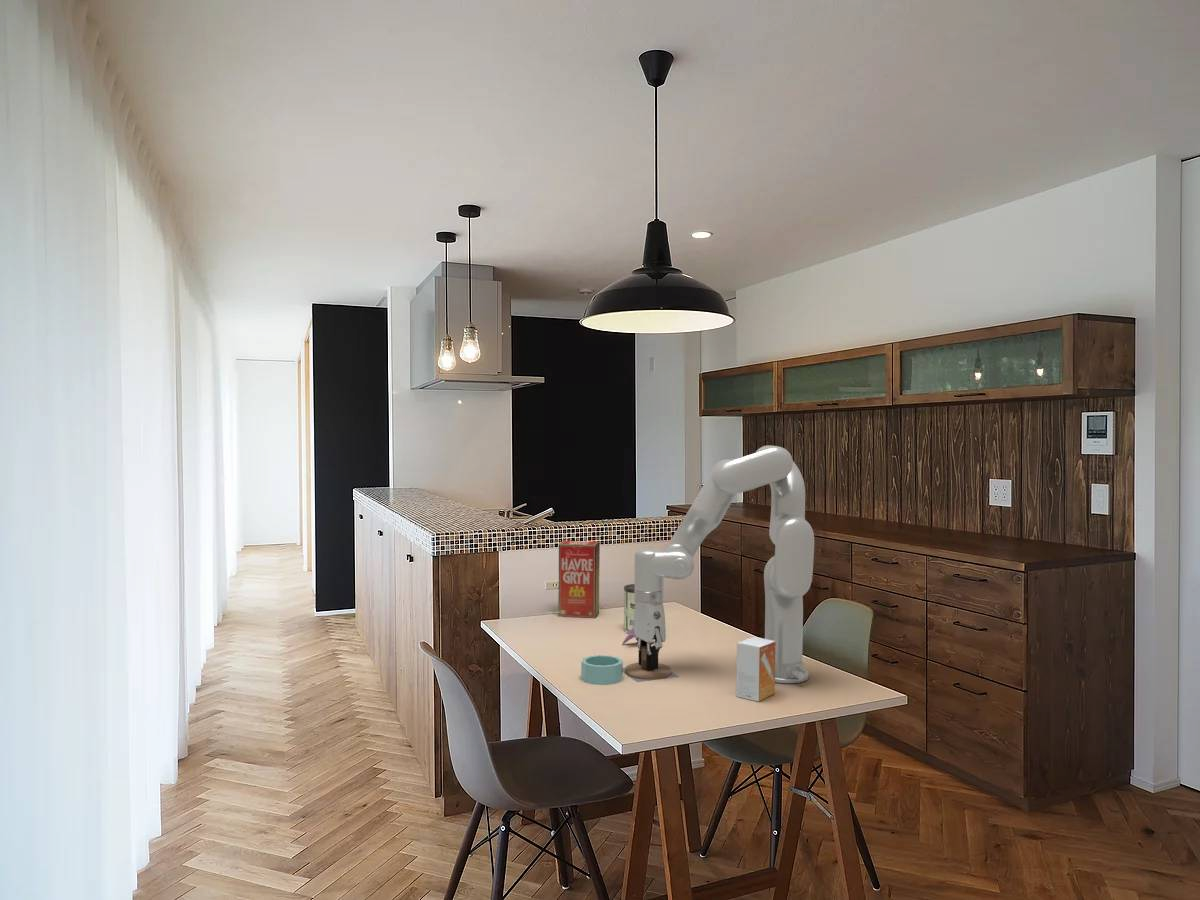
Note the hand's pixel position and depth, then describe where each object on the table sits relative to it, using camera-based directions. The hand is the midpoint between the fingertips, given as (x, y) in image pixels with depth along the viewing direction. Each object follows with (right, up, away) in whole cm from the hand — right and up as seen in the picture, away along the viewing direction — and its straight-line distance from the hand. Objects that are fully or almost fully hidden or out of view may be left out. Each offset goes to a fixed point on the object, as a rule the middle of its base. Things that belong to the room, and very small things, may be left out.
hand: (648, 666), depth 208 cm
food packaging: (-20, -1, +69) cm, 71 cm away
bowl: (-12, -2, -5) cm, 13 cm away
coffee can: (0, -2, +47) cm, 47 cm away
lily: (-1, -2, +30) cm, 30 cm away
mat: (0, -2, 0) cm, 2 cm away
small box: (+25, -3, -16) cm, 30 cm away
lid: (0, -2, 0) cm, 2 cm away
